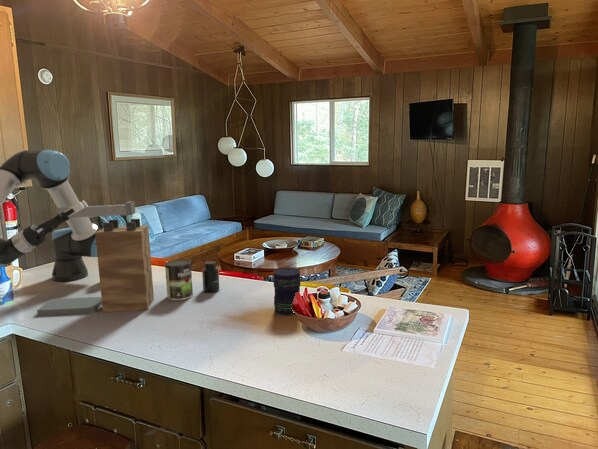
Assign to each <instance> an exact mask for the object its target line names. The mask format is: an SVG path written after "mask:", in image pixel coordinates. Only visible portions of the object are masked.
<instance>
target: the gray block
mask: <svg viewBox="0 0 598 449" xmlns="http://www.w3.org/2000/svg"><path fill="white" fill-rule="evenodd" d="M100 307H102V298H101V296H92V297H90V296H89V297H88V296H87V297H72V298H71V297H70V298H52V299H49V300H48V301H46V303H44V304H43V305H42V306H40V308H38V309H37V310H36V312H37V316H52V315H54V316H55V315H71V314H72V315H75V314H91V313H92V314H95V313H96V312H97V311H98V310H99V309H100Z"/></svg>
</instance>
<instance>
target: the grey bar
mask: <svg viewBox="0 0 598 449" xmlns="http://www.w3.org/2000/svg"><path fill="white" fill-rule="evenodd" d="M83 207H84V209H82V210H80V211H79V212H77V213H76V214H74V215H72V216H71V217H69V218H73V217H88V218H89V217H90V218H91V217H113V216H114V217H115V216H116V217H117V216H133V215H134V214H136V209H135V208H136V206H135V201H134V200H132V201H131V200H130V201H127V202H125V204H104V205H103V204H102V205H88V206H83ZM69 208H70V207H60V208H58V207H57V215H58V214H61V213H63V212H64V211H66V210H67V209H69ZM64 213H65V212H64ZM67 218H68V216H67Z"/></svg>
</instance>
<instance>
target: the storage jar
mask: <svg viewBox="0 0 598 449" xmlns="http://www.w3.org/2000/svg"><path fill="white" fill-rule="evenodd" d="M272 279H273V288H274V296H273V306H274V313H275V314H277V315H280V316H286V317H287V316H294V313H293V311H292V309H291V304H292V302H293V299H294V296H295V293H296V292H300V290H301V289H300V288H301V270H300V269H299V268H295V267H281V268H277V269H275V270H273V278H272Z"/></svg>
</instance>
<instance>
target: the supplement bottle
mask: <svg viewBox="0 0 598 449" xmlns="http://www.w3.org/2000/svg"><path fill="white" fill-rule="evenodd" d="M201 275H202V277H201V278H202V290H203V292H205V293H216V292H218V291H220V270H219V269H218V268H217V262H216V261H212V260H211V261H210V260H209V261H206V262H204V268H203V269H202V274H201Z"/></svg>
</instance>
